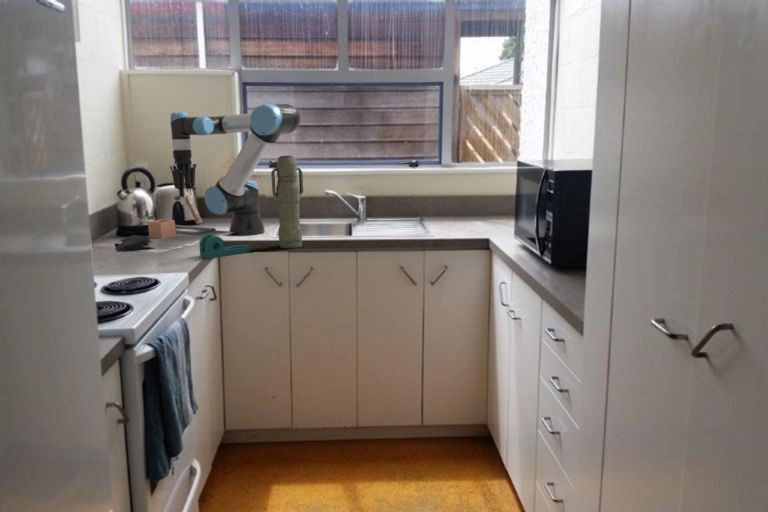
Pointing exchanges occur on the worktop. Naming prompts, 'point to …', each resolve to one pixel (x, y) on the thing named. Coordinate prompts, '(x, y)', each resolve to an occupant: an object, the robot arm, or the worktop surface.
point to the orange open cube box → (161, 228)
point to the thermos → (288, 201)
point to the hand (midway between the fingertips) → (186, 203)
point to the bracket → (219, 248)
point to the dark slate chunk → (133, 244)
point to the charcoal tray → (204, 229)
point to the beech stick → (192, 208)
